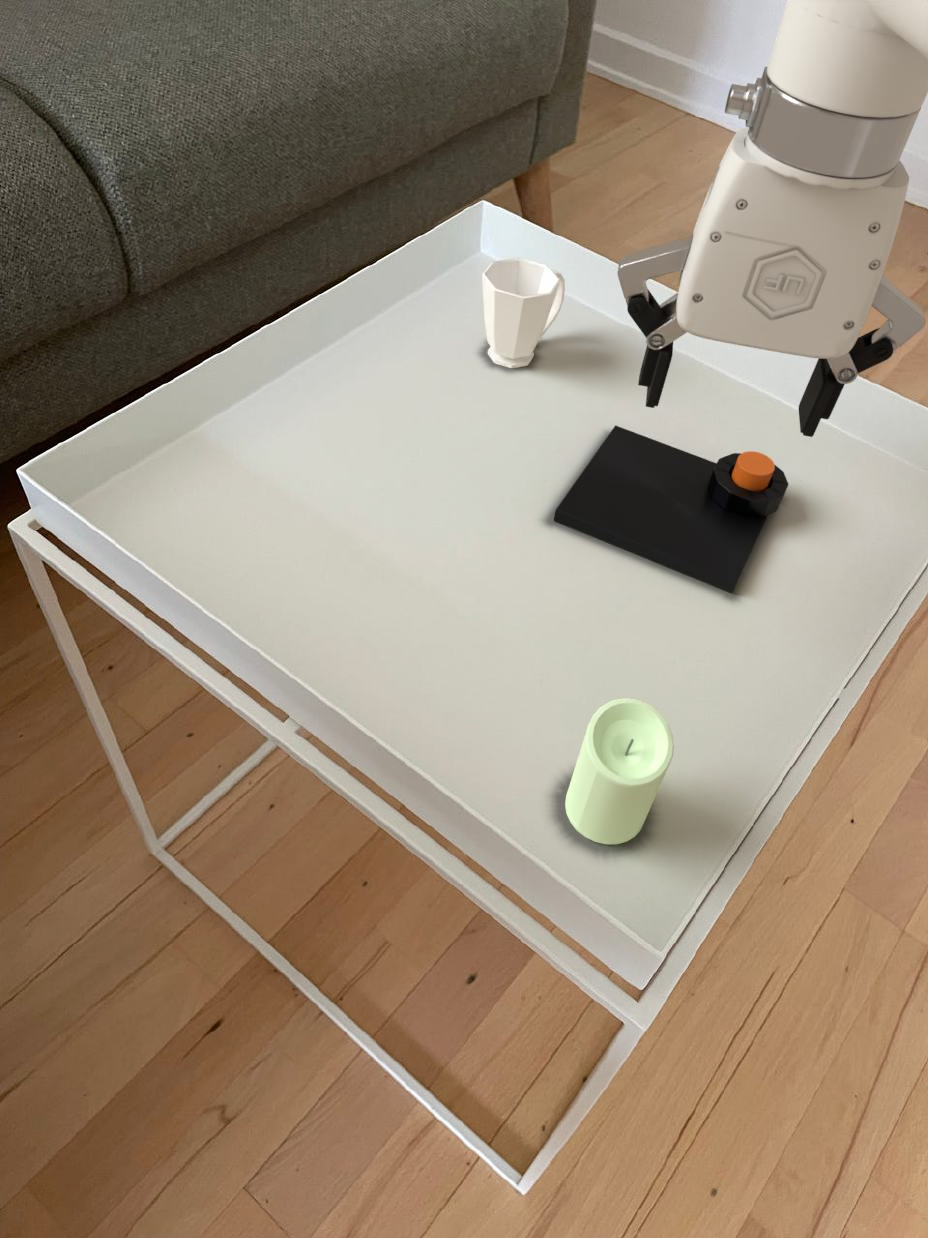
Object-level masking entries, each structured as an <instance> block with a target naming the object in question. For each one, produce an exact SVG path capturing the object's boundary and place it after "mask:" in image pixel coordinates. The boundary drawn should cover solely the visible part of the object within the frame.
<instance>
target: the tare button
mask: <svg viewBox="0 0 928 1238" xmlns="http://www.w3.org/2000/svg"><path fill="white" fill-rule="evenodd" d="M774 464H775V462H774V461H773V460H772V458H770V457H769V456H767V455H766V454H764V453H762V452H758V451H753V450H752V451H744V452H742V454H740V455H739V457H738V459H737V462H736V464H735V467H734V469H733V472H732V480H733V482H735V483H736V484H737V485H738V486H740V487H742V488H745V489H748V490H750V491H763V490H764V489H766V488H767V486H768V484H769V482H770V479H771V477H772V474H773V472H774V470H775V465H776V464H775V465H774Z"/></svg>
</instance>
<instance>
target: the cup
mask: <svg viewBox="0 0 928 1238" xmlns="http://www.w3.org/2000/svg"><path fill="white" fill-rule="evenodd" d="M481 278H482V279H481V280H482V281H481V282H482V297H483V299H482V300H483V316H484V317H483V319H484V328H485V334H486V341H487V343H488V345H489V348H488V349H487V355H488V357H489V358H490V359H491V360H492V362H493V363H494V364H496V365H499V366H503V367H504V368H505V367H506V368H508V369H517V368H522V367H527V366H529V365H530V363H531V362H532V359H533V358H534V356H535V353H534V350H535V349H536V347H537V345H538V343H539V341H540V339H541V338H542V337H543V335H545V333H546V332H547V331H548V330H549V327H551V325H552V324H553V323H554V321H555V320H556V319H557V316H558V315H559V313H560V311H561V308H562V306H563V303H564V300H565V291H566V287H565V284H566V283H565V278H564V275H563V274H562V273H561V272H559V271H557V270H555V269H552V268H550V267H549V265H548V264H547V265H546V264H543V263H540V262H536V261H533V260H528V259H526V258H522V257H515V258H507V259H500V260H494V261H492V262H491V263H490V264H489V265H488V267H487V268H486V269H485V270H484V272H483V273H482V274H481Z"/></svg>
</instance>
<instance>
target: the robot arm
mask: <svg viewBox="0 0 928 1238" xmlns="http://www.w3.org/2000/svg"><path fill="white" fill-rule="evenodd" d="M927 95H928V0H786V4H785V6H784V10H783V14H782V16H781V20H780V23H779V26H778V30H777V33H776V36H775V41H774V43H773V47H772V50H771V52H770V56H769V59H768V64H767V66H764V69H763V72H762V74H761V77H757V78H756V81H755V83H749V82H747V84H746V85H742V84H736V83H735V84H734V83H731V85H730V88H729V90H728V94H727V99H726V103H725V107H724V114H728V115H734V116H738V119H739V120H742V121H743V120H744V121H745V127H743V128H741V129H738V131H736V133H734V135H733V138H732V139H731V140H730V142H729V145H728V146H727V148H726V151H725V152H724V154H723V157H722V159H721V161H720V162H719V165H718V167H717V169H716V172H715V175H713V176H714V177H713V179H712V181H711V183H710V186H709V188H708V190H707V193H706V195H705V199H704V201H703V204H702V206H701V208H700V211H699V213H698V217H697V220H696V222H695V225H694V229H693V231H692V234H691V235H690V236H687V237H684V238H680V239H677V240H673V241H670V242H666V243H662V244H659V245H656V246H652V247H648V248H645V249H641V250H638V251H635V252H631V253H627V254H625V255H622V256H621V257H620V258H619V260H618V266H617V278H618V281H619V284H620V288H621V291H622V294H623V297H624V299H625V303H626V306H627V310H626V311H627V314H628V315H629V316H630V318H631V319H632V320H633V322H634V323H635V325H636V326H637V327H638V329H639V330H640V331H641V333H642V334H643V336H644V337H645V339H646V348H645V352H644V355H643V360H642V363H641V366H640V371H639V376H638V386H642V387H646V399H645V407H647V408H650V409H655V407H658V406H659V404H660V399H661V397H662V394H663V389H664V387H665V383H666V379H667V376H668V373H669V370H670V365H671V364H672V359H673V354H674V353H673V352H674V342H675V341H676V340H678V339H680V338H681V337H682V336H684V335H686V334H687V333H688V334H690V335H692V336H695V337H698V338H702V339H704V340H705V339H706V340H711V341H715V342H720V343H725V344H731V345H735V346H736V345H737V346H740V347H741V346H742V347H747V348H753V349H757V350H764V351H770V352H775V353H780V354H785V355H792V356H799V357H804V358H811V359H817V361H816V364H815V366H814V369H813V371H812V373H811V376H810V377H809V380H808V382H807V385H806V387H805V390H804V392H803V394H802V396H801V399H800V401H799V404H798V419H799V420H798V421H799V431H800V434H802V435H803V436H804V437H810V438H812V437H814V435H815V433H816V431H817V429H818V426H819V424H820V422H821V420H829V419H830V418H831V415H832V413H833V411H834V408H835V406H836V404H837V402H838V401H839V398H840V395H841V394H842V391H843V390H844V387H845V385H848V384H851V383H853V382H854V381H856V379H857V377H858V375H859V374H860V373H863V372H864V371H866V370H868V369H871V368H873V367H875V366H876V365H878V364H882V363H883V362H885V361H887V360H889V359H890V358H891V357H892V356H893V354H894V352H895V350H896V349H898V348H901V347H903V345H905V344H906V343H907V342H908V341H910V340H911V339H912V338H913V337H915V335H917V334H918V333H919V332H920V331H921V330H923V328H924V327H925V326H926V319H925V315H924V311H923V308H922V307H921V306H920V305H919V304H918V303H916V302H915V301H914V299H912V298H910V297H909V296H908V295H907V294H906V293H904V292H903V291H902V290H900V289H899V287H898V286H896V285H895V284H893V283H892V282H891V281H890V280H888V279H887V278H886V277H885V276H884V275H883V274H884V272H885V268H886V267H887V266H886V265H887V263H888V259H889V257H890V255H891V252H892V251H891V250H892V248H893V244H894V241H895V238H896V234H897V231H898V228H899V224H900V221H901V217H902V213H903V209H904V206H905V201H906V197H907V192H908V188H909V182H910V176H909V173H908V172H907V170H906V168H905V165H904V164H903V163H902V161H901V160H900V159H901V157H902V155H903V152H904V150H905V149H906V148H905V147H906V146H907V143H908V141H909V138H910V136H911V133H912V131H913V129H914V126H915V124H916V122H917V120H918V117H919V114H920V112H921V109H922V106H923V105H924V102H925V100H926V97H927ZM676 272H680V273H679V279H678V281H679V282H678V292H676V293H675V294H674V295H673V294H672V296H671V297H668V298H667V299H666V300H665V301H663V302H662V303H661V304H659V303H658V301H657V300H656V298H655V297H654V296H653V294H652V292H651V290H650V289H648V286H647V281H648V280H650V279H654V278H658V277H661V276H665V275H668V274H672V273H676ZM871 308H873V309H875V310H876V311H877V312H878V313H880V315H882V316H883V317H885V318H886V319H887V320H886V321H885V322H884V323H883V324H882V326H880V327H877V328H875V329H873V330H871V331H869V332H867V333H865V334H863V335H861V333H862V330H863V328H864V326H865V323H866V322H867V318H868V317H869V313H870V311H871ZM860 335H861V336H860Z"/></svg>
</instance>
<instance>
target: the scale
mask: <svg viewBox="0 0 928 1238" xmlns="http://www.w3.org/2000/svg"><path fill="white" fill-rule="evenodd" d="M742 453H743V452H742ZM742 453H741V452H740V453H739V452H734V453H729V454H728V455H725V456H723V457H720V458H718V459H717V462H715V461H711V460H709V459H706V458H704V457H701V456H698V455H695V454H693V453H690V452H688V451H686V450H682V449H679V448H677V447H675V446H672V445H669V444H667V443H664V442H661V441H658V440H656V439H653V438H650V437H647V436H645V435H642V434H639V433H636V432H635V431H632V430H630V429H626V428H624V427H622V426H618V425H617V424H616V425H614V426H613V428H612V429H611V431H610V432H609V434H608V435H607V437H606V438H605V439H604V441H603V442H602V444H600V446H599V447H598V449H597V451H596V452H595V453H594V454H593V456H592V458H591V459H590V461H589V462H588V463H587V464H586V466H585V467H584V468H583V470H582V472H581V473H580V475H579V476H578V477H577V479H576V480H575V482H574V483H573V485H572V486H571V487H570V489H569V490H568V491H567V493H566V494H565V496H564V497H563V499H562V500H561V501H560V503H559V504H558V506H557V507H556V508H555V511H554V516H553V521H554V522H555V523H558V524H561V525H563V526H566V527H568V528H571V529H573V530H576V531H577V532H580V533H583V534H586V535H587V536H590V537H593V538H596V539H598V540H600V541H603V542H604V543H607V544H609V545H612V546H614V547H618V548H619V549H622V550H624V551H626V552H629V553H632V554H634V555H637V556H639V557H642V558H643V559H647V560H648V561H652V562H653V563H656V564H658V565H661V566H664V567H666V568H669V569H671V570H672V571H673V570H674V571H676V572H679V573H681V574H683V575H686V576H688V577H691V578H693V579H695V580H697V581H700V582H703V583H705V584H708V585H710V586H713V587H715V588H717V589H720V590H722V591H724V592H727V593H730V594H733V593H734V592H735V590H736V587H737V585H738V583H739V581H740V579H741V576H742V574H743V572H744V569H746V566H747V564H748V562H749V559H750V557H751V556H752V552H753V551H754V548H755V546H756V544H757V542H758V540H759V537H760V535H761V534H762V531H763V530H764V527H765V525H766V523H767V520H768V518H769V516H770V515H772V514H774V513H776V512H777V511H778V510H779V507H780V505H781V503H782V501H783V499H784V496H785V494H786V491H787V489H788V486H789V482H788V479H787V477H786V475H785V472H784V471H783V470H782V469H781V468H780V467H779V466H777V465H776V464H775V463H774V465H775V470H774V472H773V474H772V477H771V479H770V482H769V484H768V486H767V488H766V489H764V490H763V491H750V490H748V489H745V488H742V487H740V486H738V485H737V484H736V483H735V482H733V480H732V472H733V469H734V467H735V464H736V462H737V459H738V457H739V455H740V454H742Z"/></svg>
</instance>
